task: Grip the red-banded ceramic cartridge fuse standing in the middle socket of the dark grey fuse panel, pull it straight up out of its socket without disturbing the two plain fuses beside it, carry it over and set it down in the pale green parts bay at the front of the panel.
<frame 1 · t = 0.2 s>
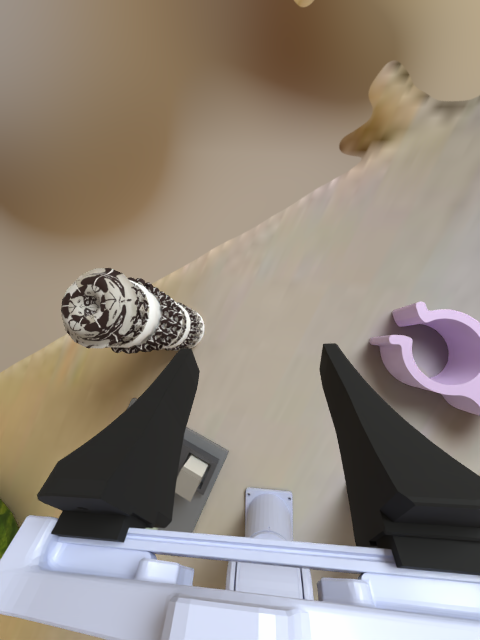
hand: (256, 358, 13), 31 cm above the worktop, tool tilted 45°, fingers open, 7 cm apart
panel: (164, 455, 43), on the worktop
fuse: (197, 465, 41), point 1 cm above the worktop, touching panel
clip: (430, 360, 40), on the worktop
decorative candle: (184, 328, 46), on the worktop
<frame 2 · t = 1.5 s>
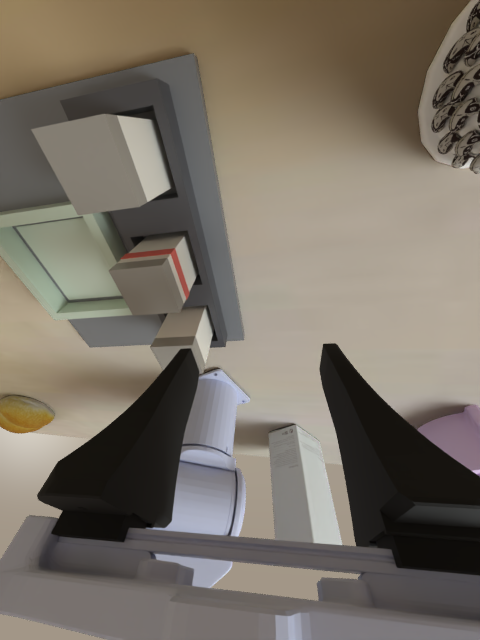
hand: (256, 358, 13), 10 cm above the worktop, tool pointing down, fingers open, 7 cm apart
panel: (156, 251, 20), on the worktop
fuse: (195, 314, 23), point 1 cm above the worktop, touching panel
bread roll: (31, 405, 41), on the worktop
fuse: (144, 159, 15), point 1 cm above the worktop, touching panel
clip: (445, 437, 37), on the worktop
skincare box: (295, 435, 40), on the worktop
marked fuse: (175, 252, 19), point 1 cm above the worktop, touching panel
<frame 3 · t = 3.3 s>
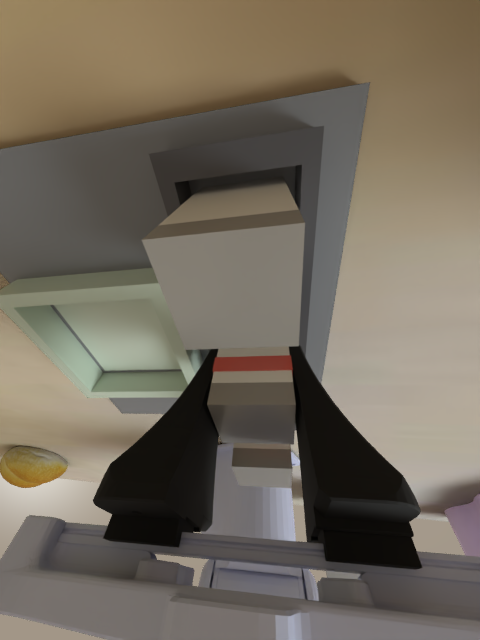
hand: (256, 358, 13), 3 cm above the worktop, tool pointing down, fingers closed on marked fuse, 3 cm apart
panel: (227, 323, 15), on the worktop
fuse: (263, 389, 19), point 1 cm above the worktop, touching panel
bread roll: (42, 454, 37), on the worktop
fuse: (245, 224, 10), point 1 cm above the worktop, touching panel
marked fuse: (256, 329, 15), point 1 cm above the worktop, touching gripper, panel
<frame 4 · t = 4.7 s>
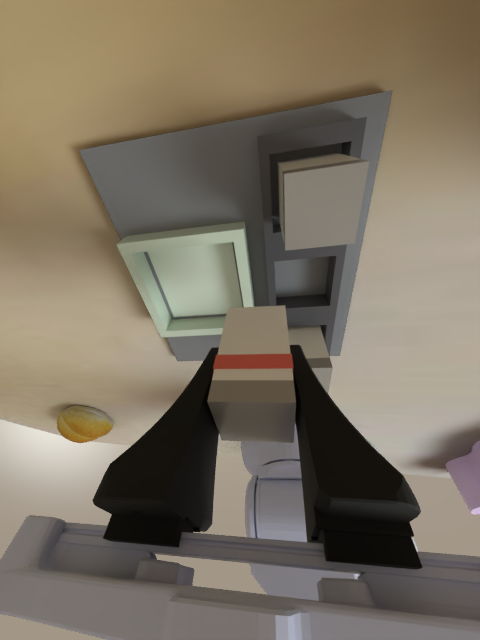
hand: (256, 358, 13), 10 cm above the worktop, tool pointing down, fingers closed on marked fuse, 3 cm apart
panel: (276, 271, 20), on the worktop
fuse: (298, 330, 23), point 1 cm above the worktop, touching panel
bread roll: (90, 415, 42), on the worktop
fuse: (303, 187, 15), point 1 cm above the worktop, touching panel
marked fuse: (257, 328, 14), point 8 cm above the worktop, touching gripper
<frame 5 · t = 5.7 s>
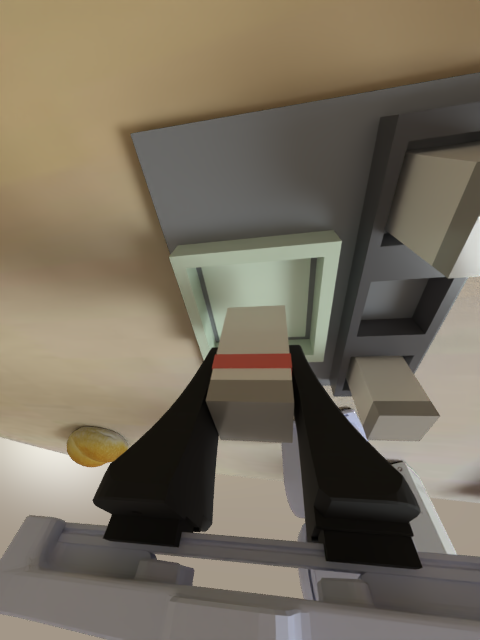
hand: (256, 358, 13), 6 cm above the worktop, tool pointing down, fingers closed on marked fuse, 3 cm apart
panel: (353, 290, 17), on the worktop
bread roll: (103, 435, 38), on the worktop
skincare box: (394, 470, 37), on the worktop
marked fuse: (257, 328, 14), point 4 cm above the worktop, touching gripper
when the fingers open (4 cm above the worktop, at t = 6.5 s): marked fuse stays where it is, resting on panel.
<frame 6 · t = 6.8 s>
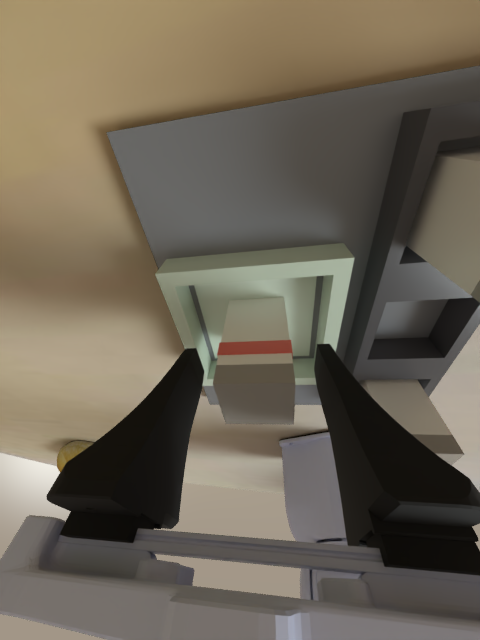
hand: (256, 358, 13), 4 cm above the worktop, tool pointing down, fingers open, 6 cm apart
panel: (363, 307, 15), on the worktop
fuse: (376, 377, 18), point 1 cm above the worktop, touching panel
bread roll: (95, 449, 36), on the worktop
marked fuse: (258, 319, 15), point 1 cm above the worktop, touching panel
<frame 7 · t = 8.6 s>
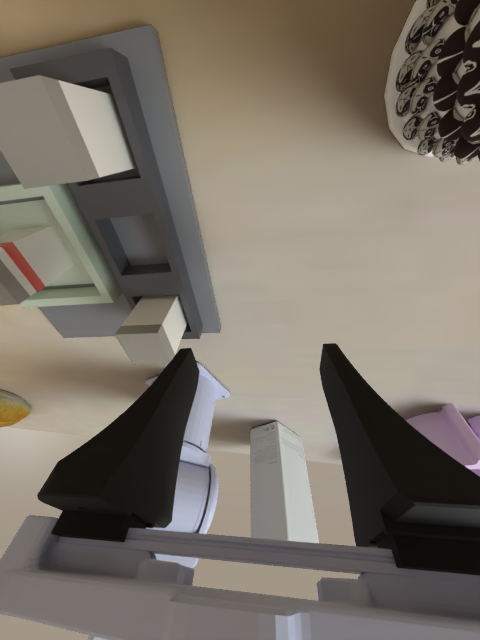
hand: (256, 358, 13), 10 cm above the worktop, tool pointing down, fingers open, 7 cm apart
panel: (126, 237, 19), on the worktop
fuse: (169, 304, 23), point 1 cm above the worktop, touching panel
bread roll: (7, 399, 40), on the worktop
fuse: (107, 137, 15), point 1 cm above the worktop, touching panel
clip: (419, 436, 38), on the worktop
skincare box: (277, 432, 40), on the worktop
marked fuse: (47, 247, 20), point 1 cm above the worktop, touching panel
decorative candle: (470, 57, 12), on the worktop
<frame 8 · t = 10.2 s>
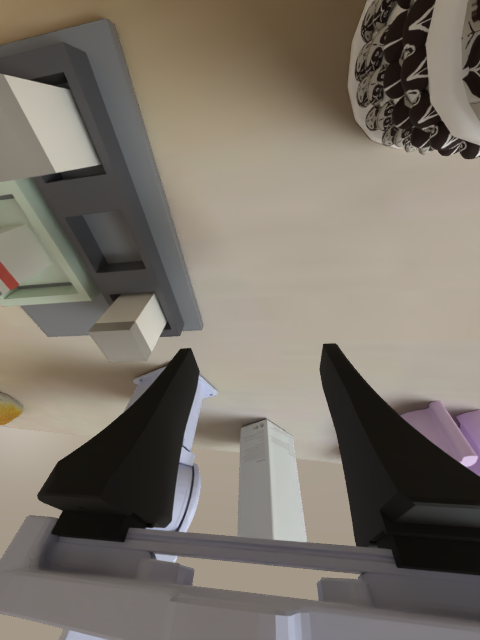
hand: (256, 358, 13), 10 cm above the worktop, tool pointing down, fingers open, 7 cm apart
panel: (102, 235, 19), on the worktop
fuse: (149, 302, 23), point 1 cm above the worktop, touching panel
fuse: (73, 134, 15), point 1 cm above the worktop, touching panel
clip: (410, 434, 37), on the worktop
skincare box: (268, 430, 40), on the worktop
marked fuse: (23, 246, 20), point 1 cm above the worktop, touching panel
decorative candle: (432, 45, 12), on the worktop
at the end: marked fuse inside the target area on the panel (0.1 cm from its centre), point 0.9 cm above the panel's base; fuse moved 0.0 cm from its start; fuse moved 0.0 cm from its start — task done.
